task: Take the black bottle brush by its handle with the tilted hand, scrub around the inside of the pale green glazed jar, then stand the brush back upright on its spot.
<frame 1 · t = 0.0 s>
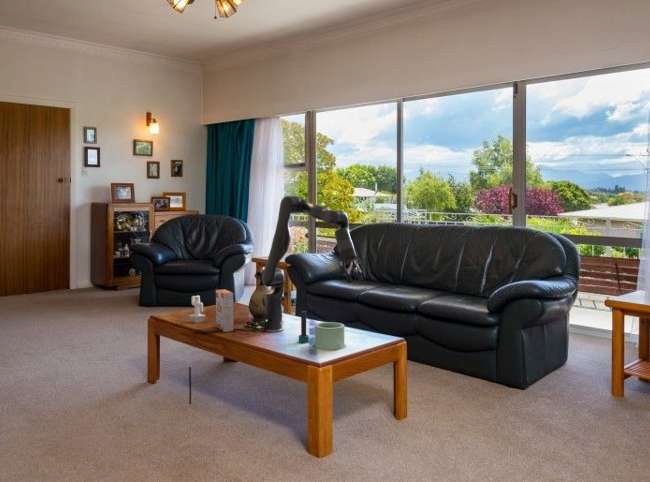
hand: (355, 281, 266), 31 cm above the table, tool tilted 20°, fingers open, 8 cm apart
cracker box: (224, 329, 304), on the table
jar: (329, 346, 269), on the table
brush: (303, 341, 277), on the table
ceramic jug: (262, 319, 333), on the table
figurine: (197, 321, 325), on the table
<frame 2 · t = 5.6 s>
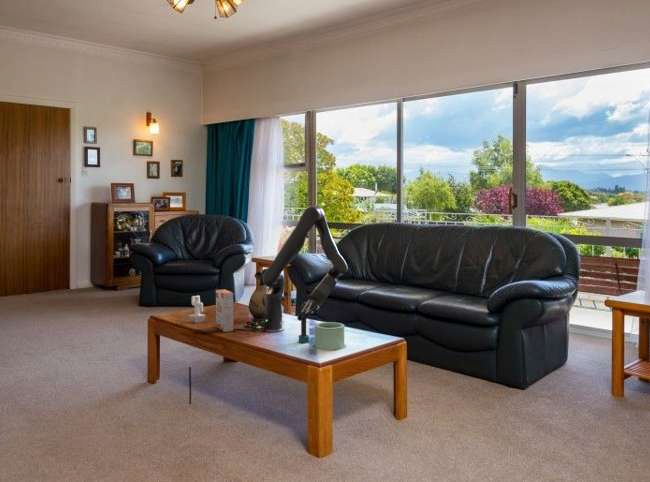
hand: (300, 320, 276), 11 cm above the table, tool tilted 45°, fingers closed on brush, 2 cm apart
brush: (303, 341, 277), on the table, touching gripper
everything else where it was.
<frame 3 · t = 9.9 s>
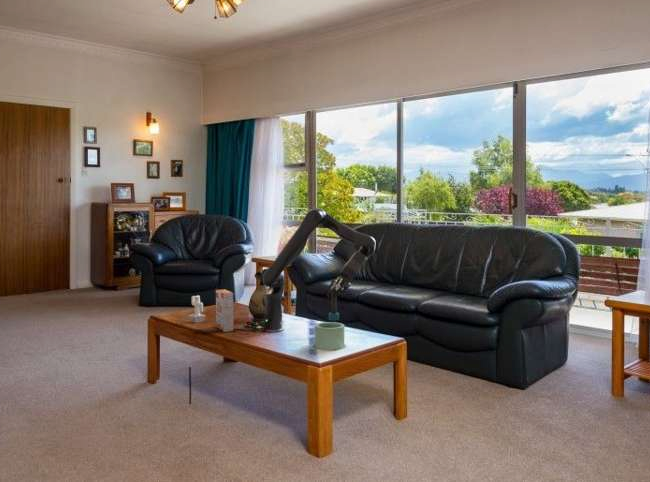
hand: (330, 297, 269), 24 cm above the table, tool tilted 45°, fingers closed on brush, 2 cm apart
brush: (333, 319, 270), point 13 cm above the table, touching gripper
everything else where it was.
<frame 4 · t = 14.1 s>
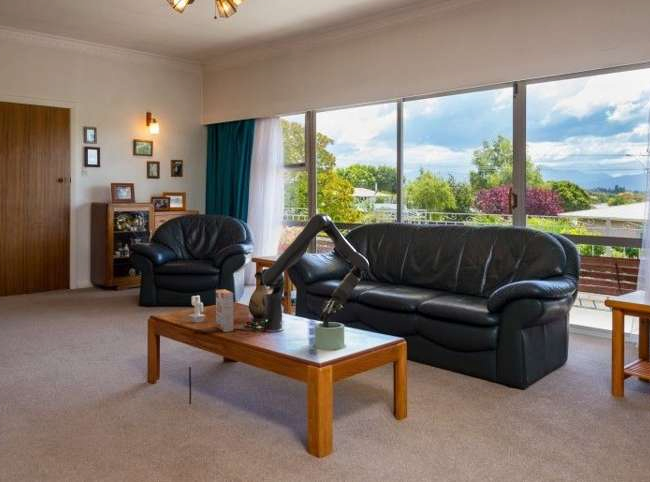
hand: (322, 320, 267), 13 cm above the table, tool tilted 45°, fingers closed on brush, 2 cm apart
brush: (325, 342, 268), point 2 cm above the table, touching gripper
everything else where it was.
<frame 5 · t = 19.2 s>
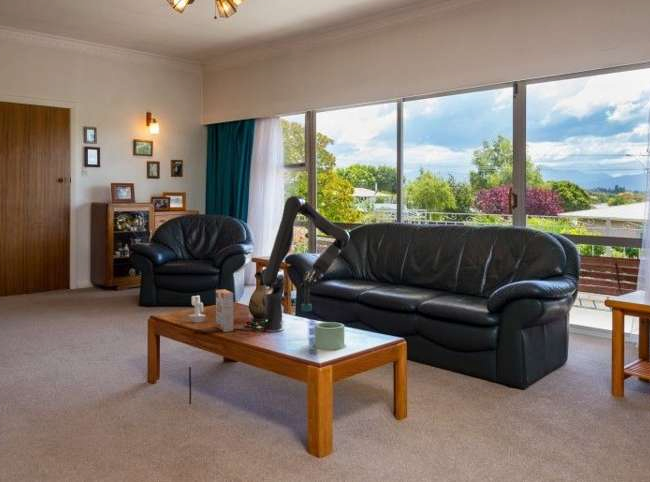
hand: (303, 288, 275), 27 cm above the table, tool tilted 45°, fingers closed on brush, 2 cm apart
brush: (306, 310, 277), point 16 cm above the table, touching gripper
everything else where it was.
when the fingers open (11 cm above the table, at t = 23.0 s): brush stays where it is, on the table.
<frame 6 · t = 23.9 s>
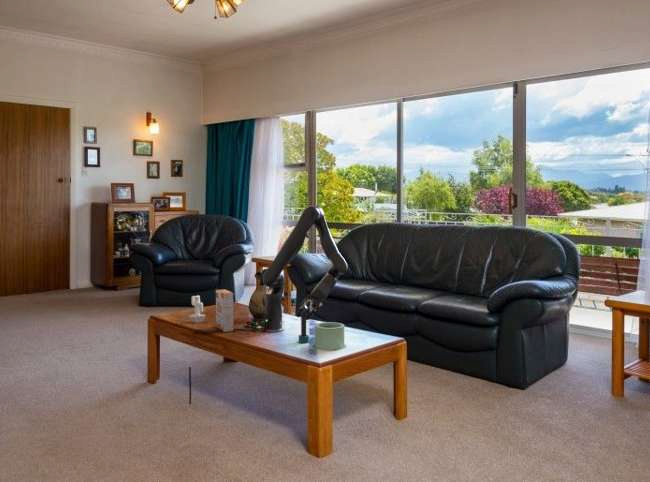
hand: (301, 317, 277), 12 cm above the table, tool tilted 45°, fingers open, 8 cm apart
brush: (303, 341, 277), on the table
everything else where it was.
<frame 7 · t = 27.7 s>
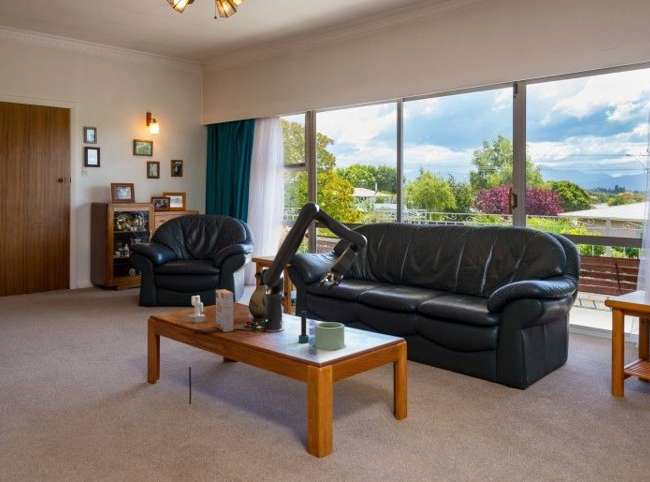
hand: (323, 290, 284), 25 cm above the table, tool tilted 45°, fingers open, 8 cm apart
nothing on the table moved.
at the end: brush inside the target area (0.1 cm from its centre), on the table; brush tilted 0°; the gripper is holding nothing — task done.
